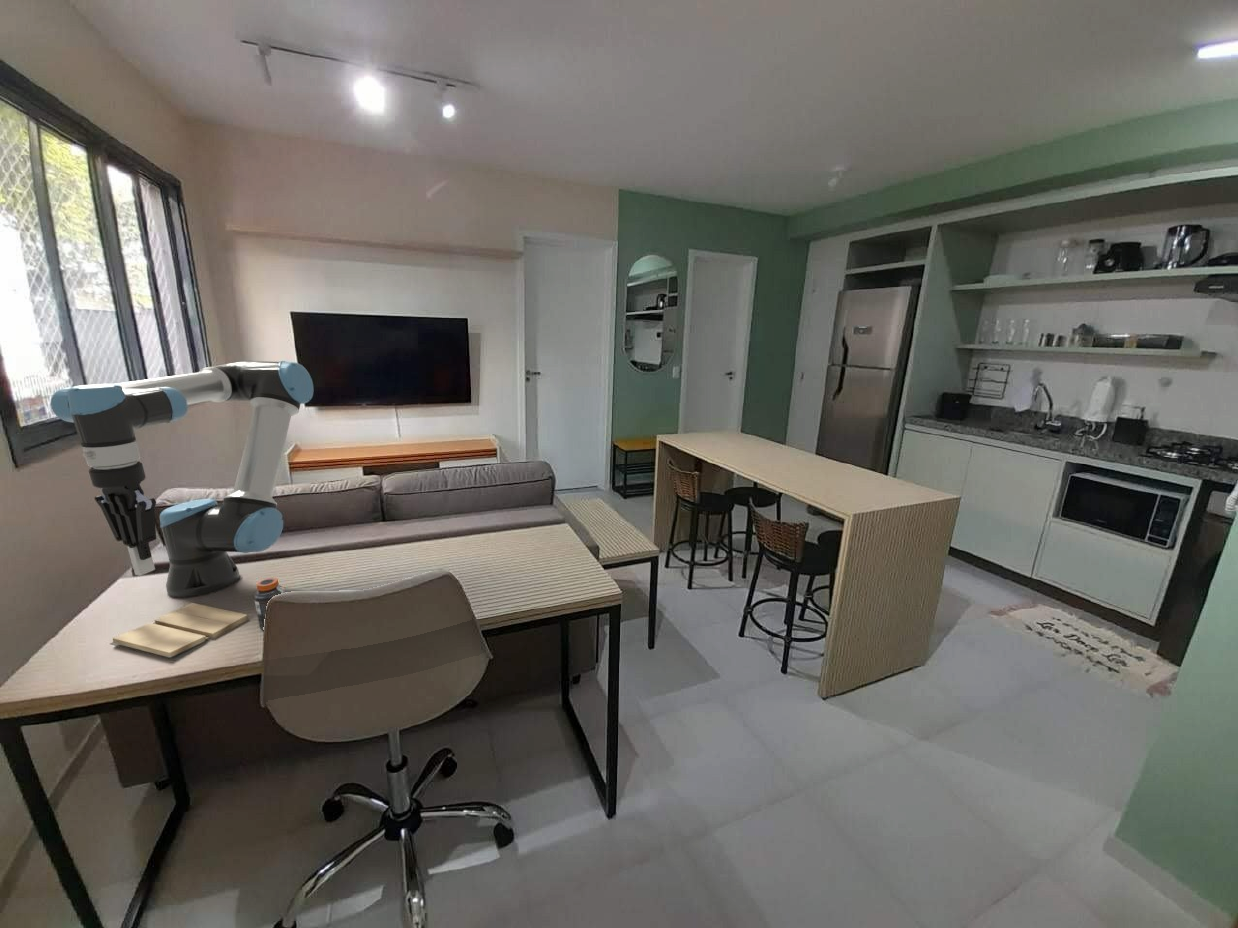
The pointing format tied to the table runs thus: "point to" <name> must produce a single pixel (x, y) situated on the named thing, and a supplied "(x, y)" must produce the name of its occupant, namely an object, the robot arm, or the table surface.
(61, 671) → the table surface
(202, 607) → the floor board
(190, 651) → the underlay mat
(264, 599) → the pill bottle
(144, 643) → the board
